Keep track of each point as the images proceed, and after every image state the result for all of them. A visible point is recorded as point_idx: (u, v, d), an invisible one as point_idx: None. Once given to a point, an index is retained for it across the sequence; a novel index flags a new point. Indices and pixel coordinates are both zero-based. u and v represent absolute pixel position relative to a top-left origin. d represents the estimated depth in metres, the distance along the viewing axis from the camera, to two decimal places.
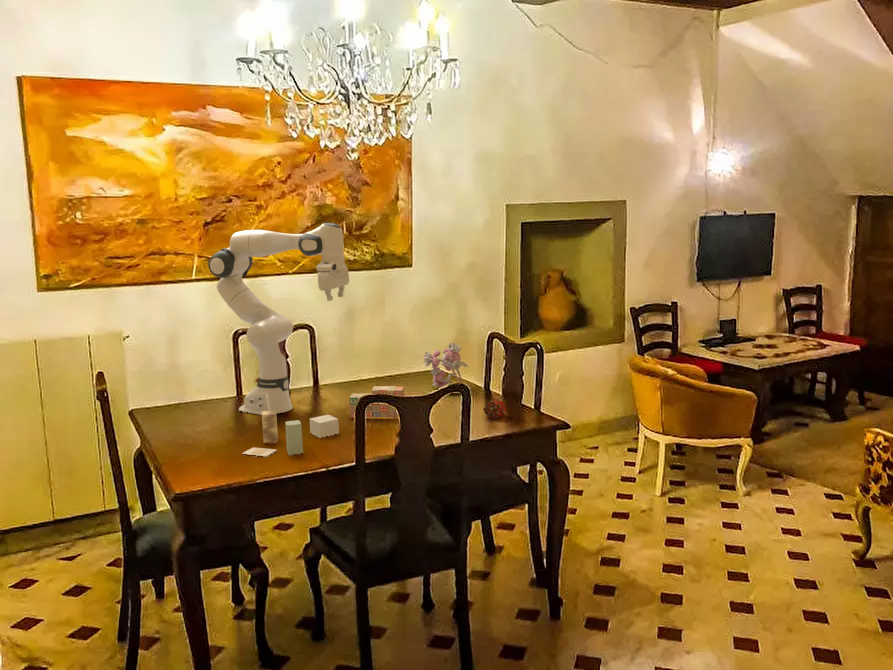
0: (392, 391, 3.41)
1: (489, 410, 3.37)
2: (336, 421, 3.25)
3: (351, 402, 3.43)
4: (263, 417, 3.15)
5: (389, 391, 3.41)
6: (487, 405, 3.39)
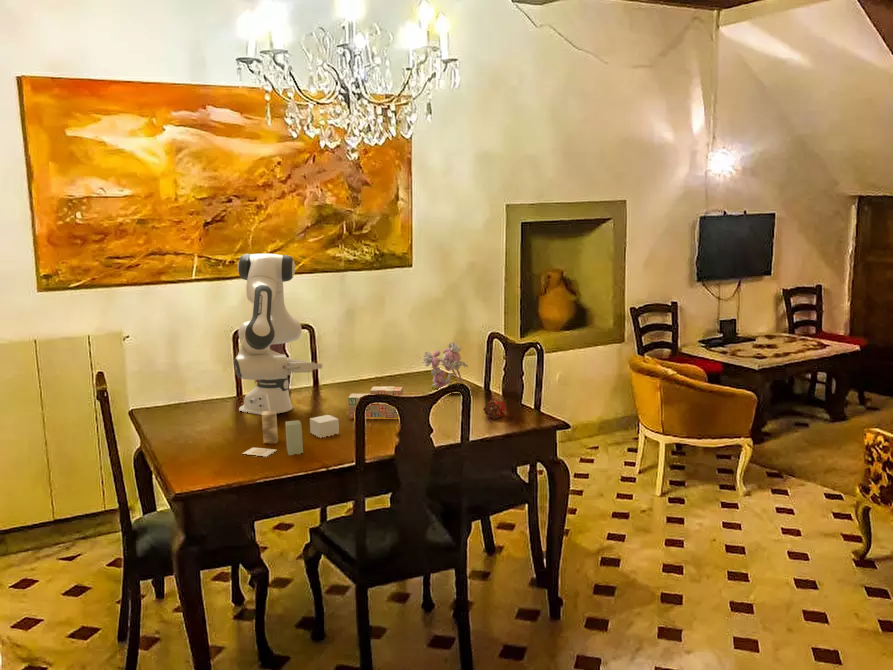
0: (391, 391, 3.41)
1: (489, 410, 3.37)
2: (336, 421, 3.25)
3: (350, 402, 3.43)
4: (263, 417, 3.15)
5: (388, 391, 3.41)
6: (487, 405, 3.39)
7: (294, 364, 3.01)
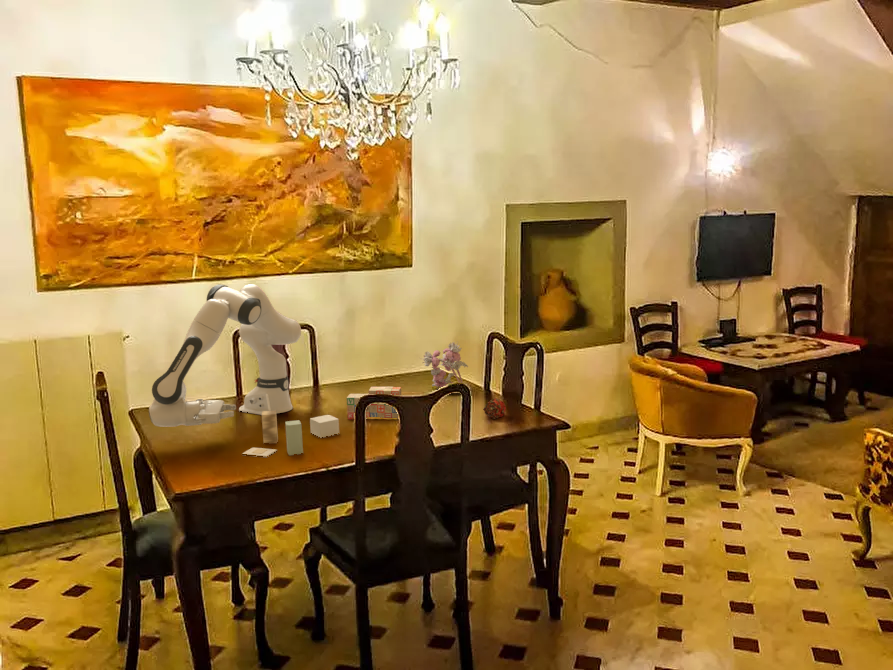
0: (389, 391, 3.40)
1: (489, 410, 3.37)
2: (336, 421, 3.25)
3: (348, 402, 3.43)
4: (263, 417, 3.15)
5: (386, 391, 3.40)
6: (487, 405, 3.39)
7: (200, 415, 3.04)
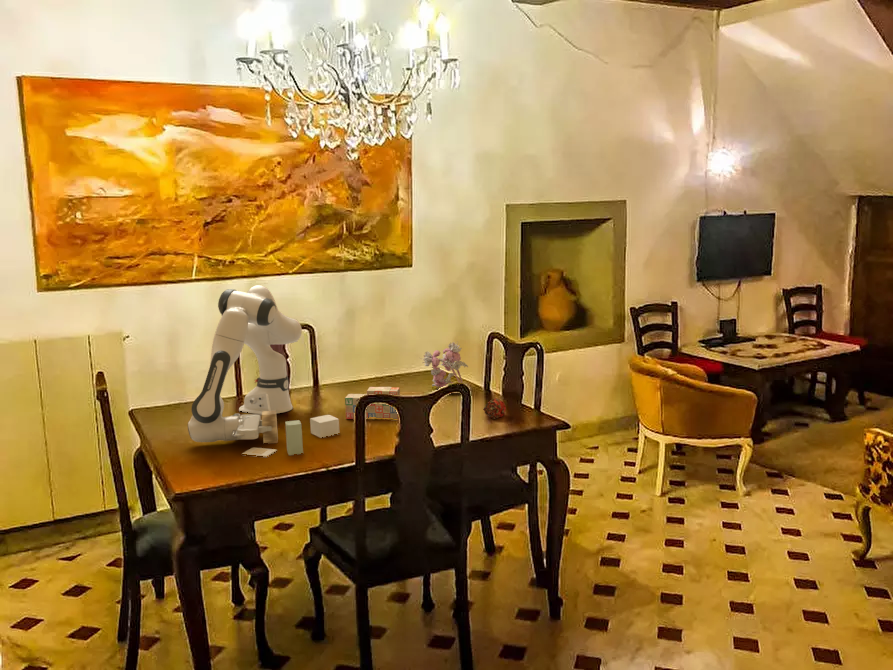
0: (387, 392, 3.40)
1: (489, 410, 3.37)
2: (337, 421, 3.25)
3: (346, 403, 3.43)
4: (263, 417, 3.15)
5: (384, 392, 3.40)
6: (487, 405, 3.39)
7: (239, 432, 3.08)
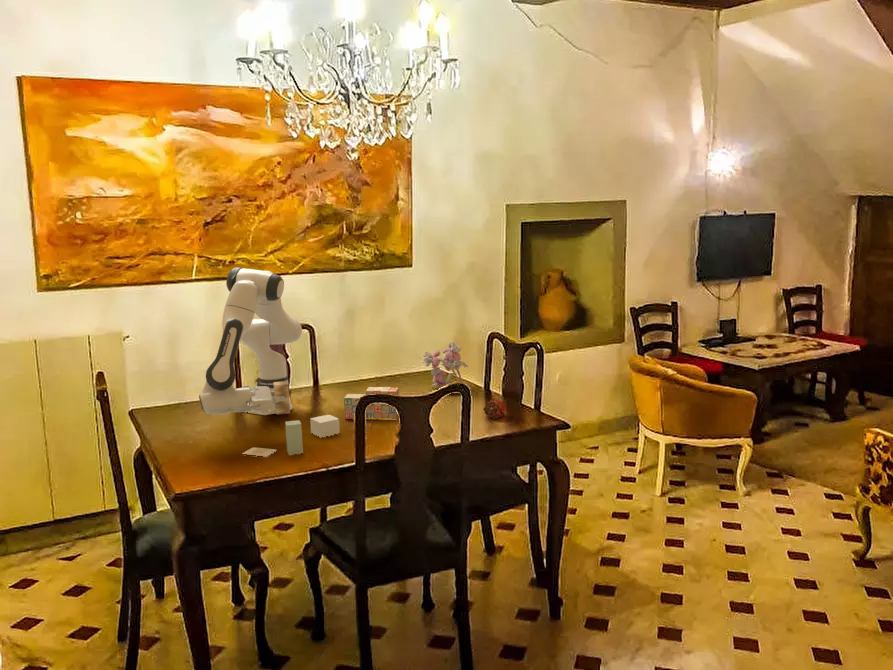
0: (386, 392, 3.40)
1: (489, 410, 3.37)
2: (337, 421, 3.25)
3: (345, 403, 3.43)
4: (276, 387, 3.14)
5: (383, 392, 3.40)
6: (487, 405, 3.39)
7: (254, 402, 3.06)
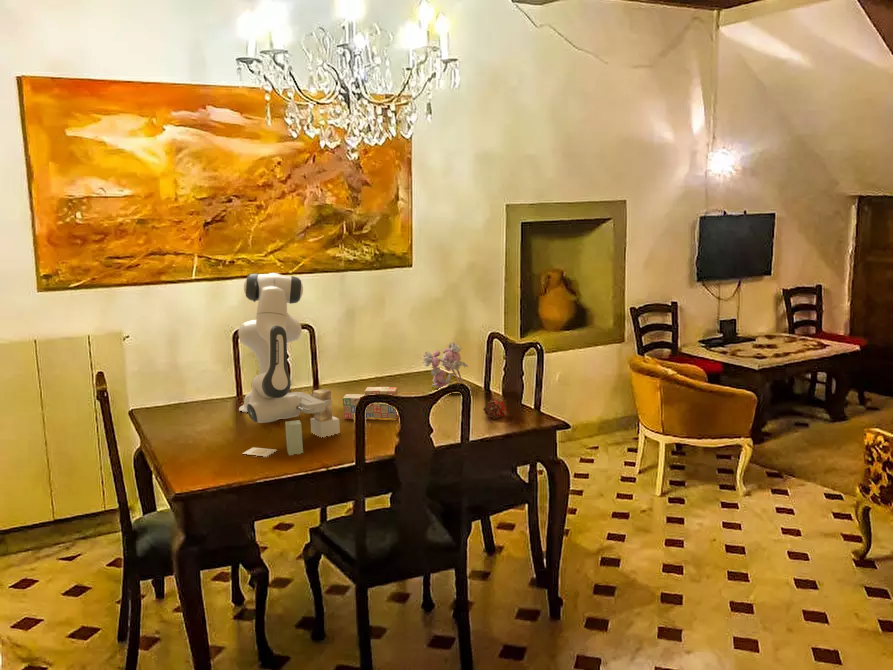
0: (385, 392, 3.40)
1: (489, 410, 3.37)
2: (337, 421, 3.25)
3: (344, 403, 3.43)
4: (320, 395, 3.21)
5: (382, 392, 3.40)
6: (487, 405, 3.39)
7: (309, 406, 3.11)
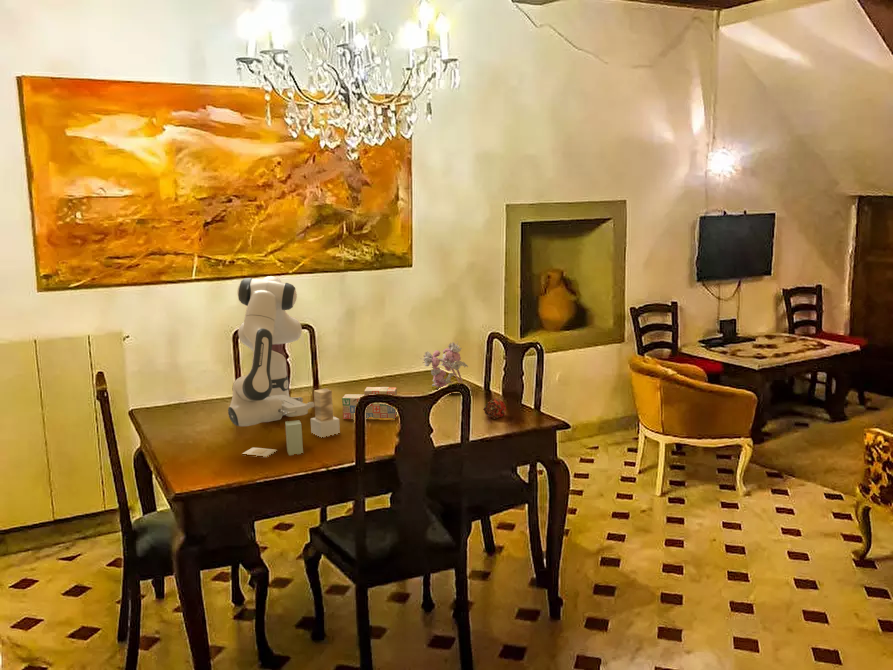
0: (385, 392, 3.40)
1: (489, 410, 3.37)
2: (337, 421, 3.25)
3: (344, 403, 3.43)
4: (321, 395, 3.21)
5: (382, 392, 3.40)
6: (487, 405, 3.39)
7: (291, 409, 3.07)
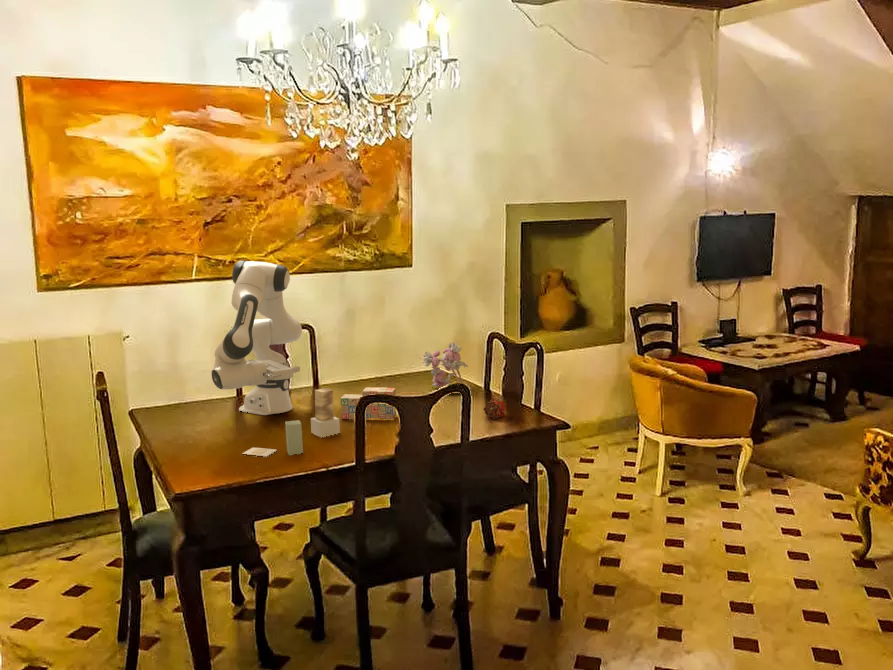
0: (383, 392, 3.39)
1: (489, 410, 3.37)
2: (337, 421, 3.25)
3: (342, 403, 3.43)
4: (323, 394, 3.21)
5: (380, 392, 3.39)
6: (487, 405, 3.39)
7: (276, 372, 3.01)
